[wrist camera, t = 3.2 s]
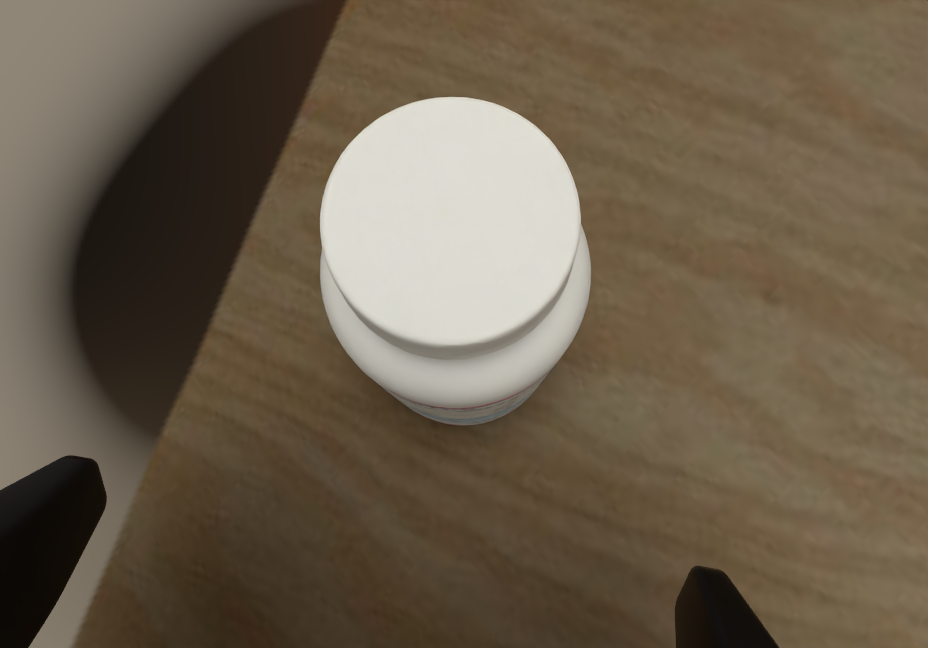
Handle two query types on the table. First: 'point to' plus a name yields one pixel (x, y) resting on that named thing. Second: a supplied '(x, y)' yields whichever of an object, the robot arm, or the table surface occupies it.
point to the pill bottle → (454, 257)
